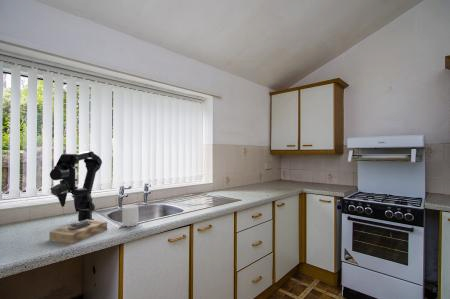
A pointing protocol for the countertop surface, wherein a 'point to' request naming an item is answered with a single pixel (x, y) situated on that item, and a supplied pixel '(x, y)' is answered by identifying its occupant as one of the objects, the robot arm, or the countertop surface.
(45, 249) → the countertop surface
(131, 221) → the mug
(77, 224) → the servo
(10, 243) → the countertop surface
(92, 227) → the chassis board
